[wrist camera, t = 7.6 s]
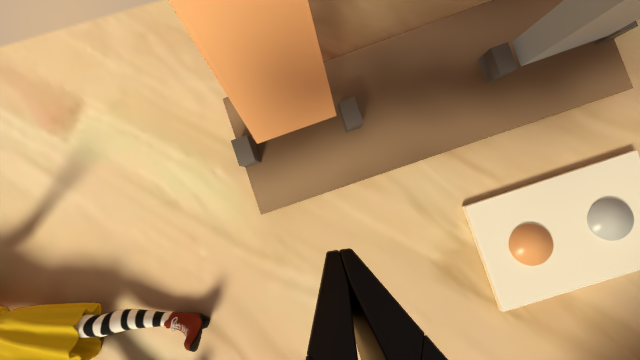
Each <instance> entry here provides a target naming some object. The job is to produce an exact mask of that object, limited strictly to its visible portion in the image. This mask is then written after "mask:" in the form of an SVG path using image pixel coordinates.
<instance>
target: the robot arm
mask: <svg viewBox="0 0 640 360" xmlns="http://www.w3.org/2000/svg"><path fill="white" fill-rule="evenodd" d="M356 344H357V348H358V351H359V354H360V357H361V360H448V359H447V358H446V357H445V356H444V355H443V353H442V352H441V351H440V350H439V349H438V348H437V347H436V346H435V345H434V343H433V342H432V341H431V340H430V339H429V338H428V336H427V335H425V336H424V332H423V331H422V330H421V329H420V327H419V326H418V325H417V324H416V323H415V322H414V320H413V319H412V318H411V317H410V316H409V315H408V313H407V312H406V311H405V310H404V309H403V308H402V307H401V305H400V304H399V303H398V302H397V301H396V300H395V298H394V297H393V296H392V295H391V294H390V293H389V292H388V290H387V289H386V288H385V287H384V286H383V285H382V283H381V282H380V281H379V280H378V279H377V278H376V277H375V275H374V274H373V273H372V272H371V271H370V270H369V268H368V267H367V266H366V265H365V264H364V263H363V261H362V260H361V259H360V258H359V257H358V256H357V255H356V253H355V252H354V251H353V250H352V249H350V248H348V249H341V250H340V251H338V250H334V251H328V252H327V253H326V258H325V263H324V269H323V274H322V279H321V284H320V289H319V294H318V299H317V304H316V310H315V315H314V320H313V325H312V330H311V335H310V340H309V345H308V351H307V356H306V360H358V356H357V348H356Z"/></svg>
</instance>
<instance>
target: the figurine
mask: <svg viewBox="0 0 640 360" xmlns="http://www.w3.org/2000/svg"><path fill="white" fill-rule="evenodd" d="M101 307H102V306H101V305H100V304H99V303H66V304H47V305H35V306H29V307H21V308H17V309H14V310H9V309H8V308H7V307H3V306H0V360H90V359H92V358H94V357H95V356H97V355H98V354H99V352H100V350H101V348H100V346H101V343H102V341H100V337H103V336H108V335H111V334H114V333H117V332H121V331H126V330H131V329H137V328H146V327H157V326H166V328H170V329H171V328H172V329H174V330H172V331H176V330H175V329H177V330H179V331H181V332H183V333H184V334H185V336H186V337H187V338H186V340H185V342H184V346H185V348H186V349H187V350H189V351H193V352H195V351H196V350H197V349H198V346H199V343H200V339H201V334H202V329H204V328H207V327H208V325H209V321H210V319H209V318H208V317H206V316H205V315H203V314H200V313H180V312H172V313H166V312H158V311H150V310H141V309H126V310H120V311H114V312H110V313H107V314H102V315H100V314H101Z"/></svg>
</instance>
